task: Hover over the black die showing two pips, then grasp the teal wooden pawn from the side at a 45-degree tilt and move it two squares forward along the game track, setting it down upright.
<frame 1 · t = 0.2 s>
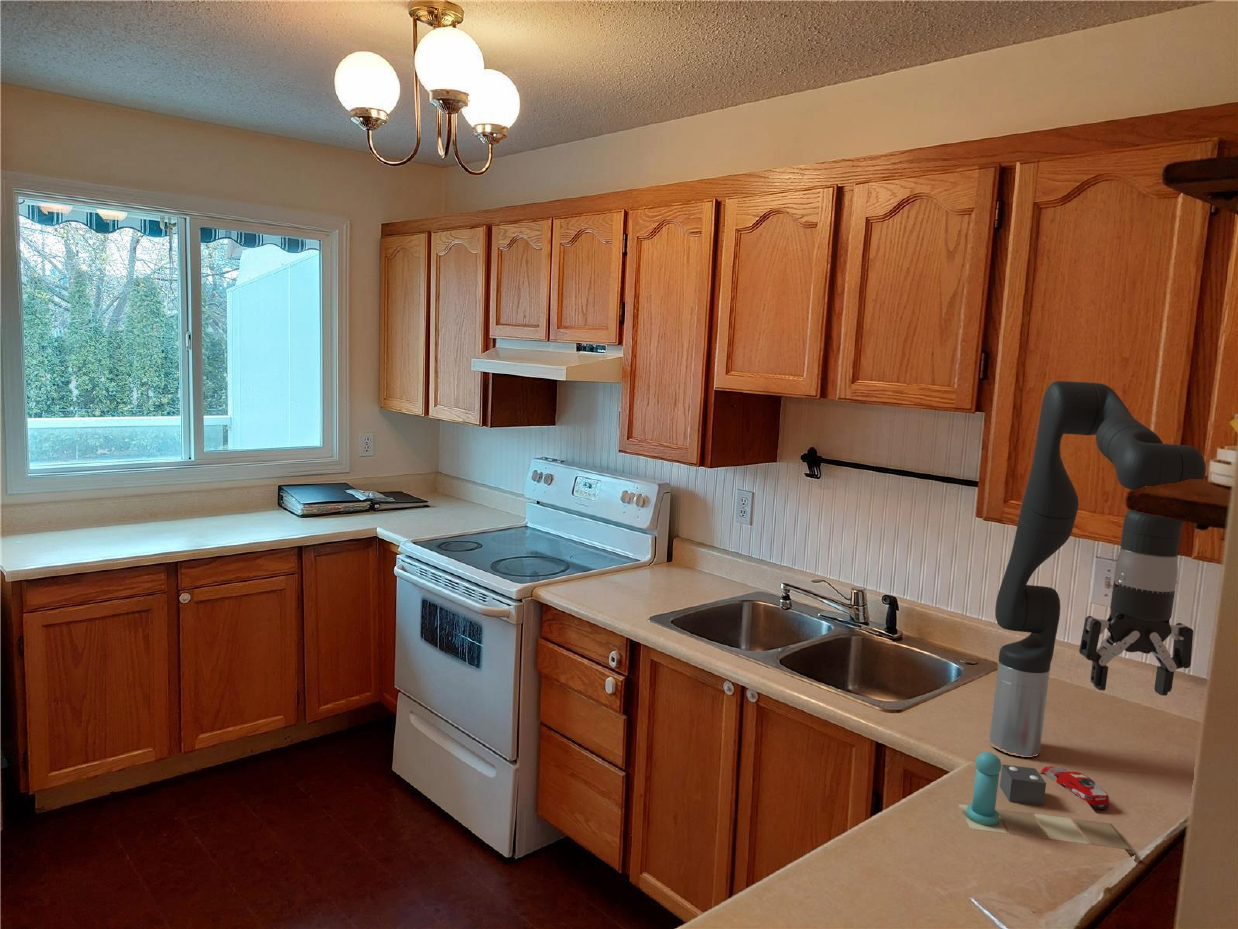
hand: (1129, 691, 123), 29 cm above the worktop, tool pointing down, fingers open, 8 cm apart
track board: (1039, 834, 137), on the worktop
die: (1020, 803, 147), on the worktop
pawn: (982, 818, 138), point 1 cm above the worktop, touching track board
race car: (1072, 795, 152), on the worktop
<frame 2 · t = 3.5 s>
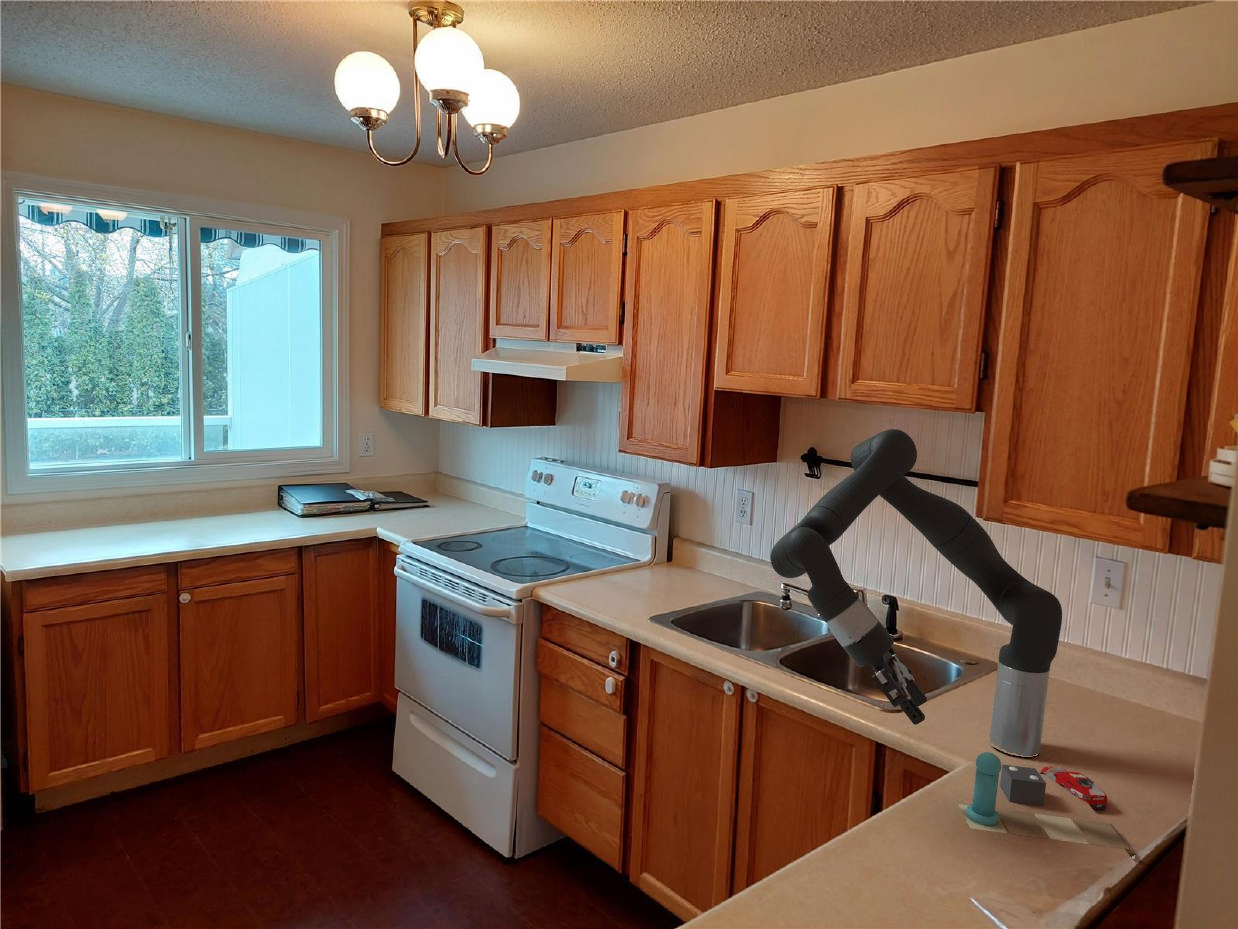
hand: (921, 712, 140), 17 cm above the worktop, tool tilted 45°, fingers open, 8 cm apart
nothing on the worktop moved.
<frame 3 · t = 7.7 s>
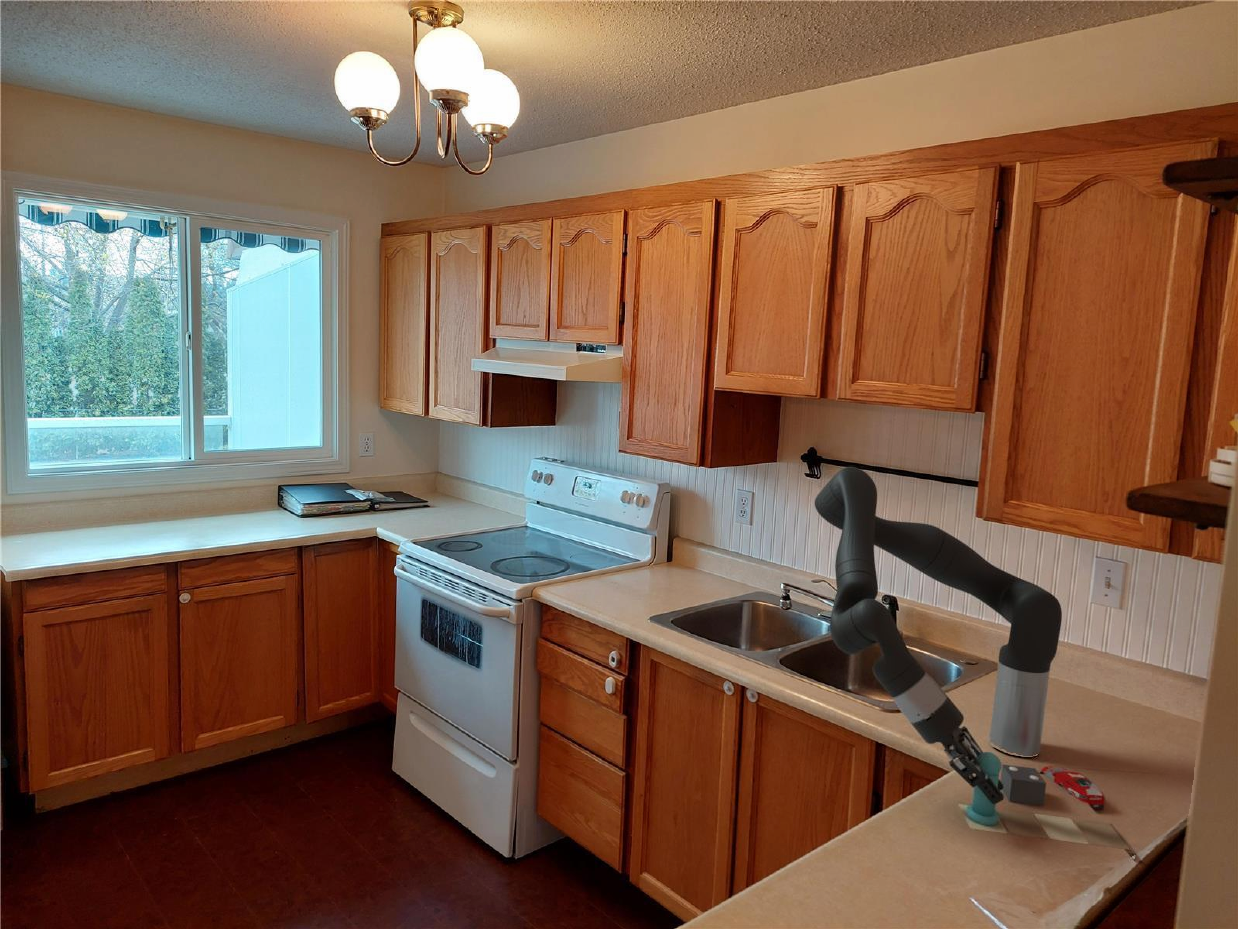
hand: (998, 795, 137), 6 cm above the worktop, tool tilted 45°, fingers closed on pawn, 3 cm apart
pawn: (982, 818, 138), point 1 cm above the worktop, touching gripper, track board
everything else where it was.
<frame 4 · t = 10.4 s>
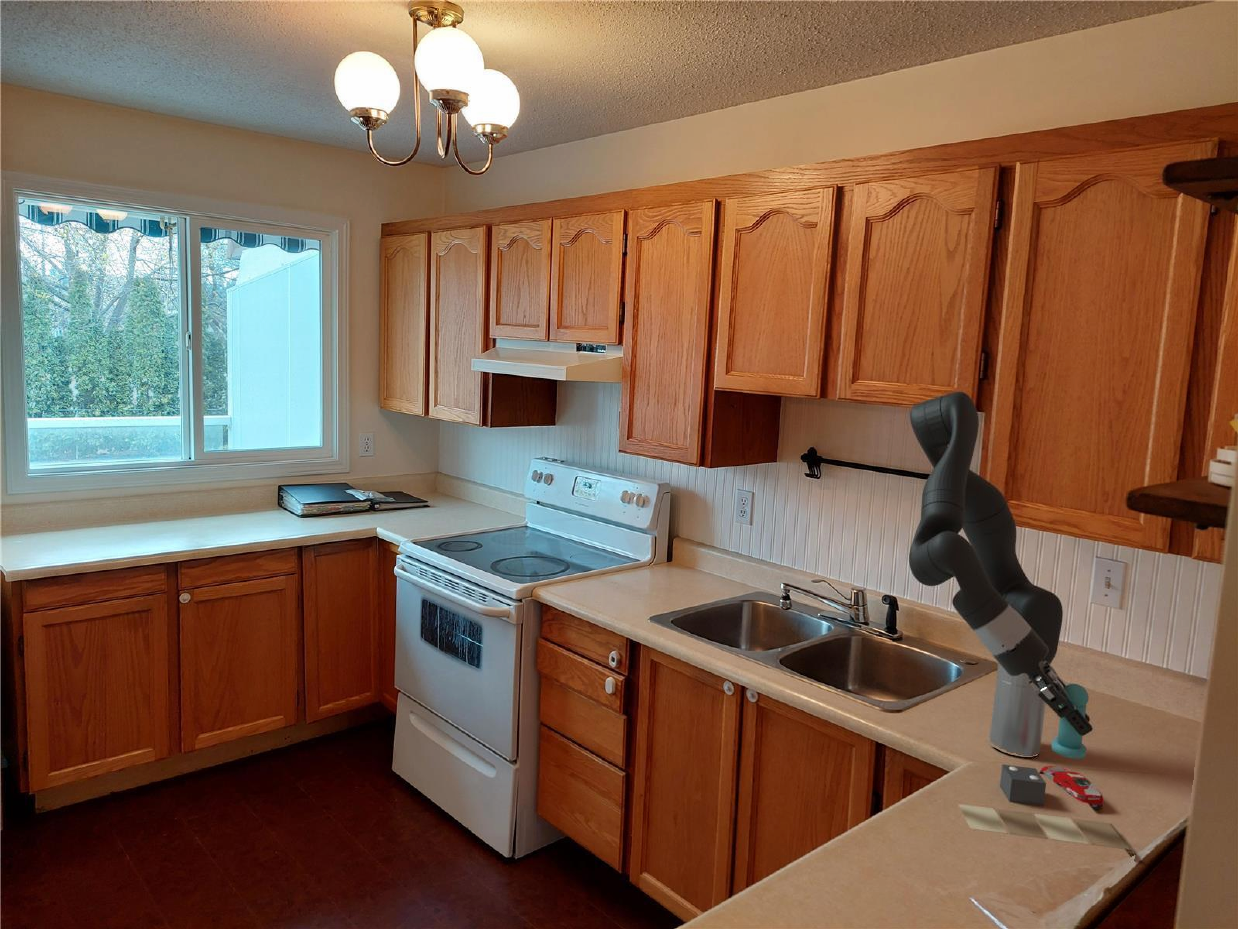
hand: (1085, 727, 134), 19 cm above the worktop, tool tilted 45°, fingers closed on pawn, 3 cm apart
pawn: (1068, 751, 135), point 14 cm above the worktop, touching gripper
everything else where it was.
when the fingers open (7 cm above the worktop, at t = 13.4 s): pawn drops 1 cm, resting on track board.
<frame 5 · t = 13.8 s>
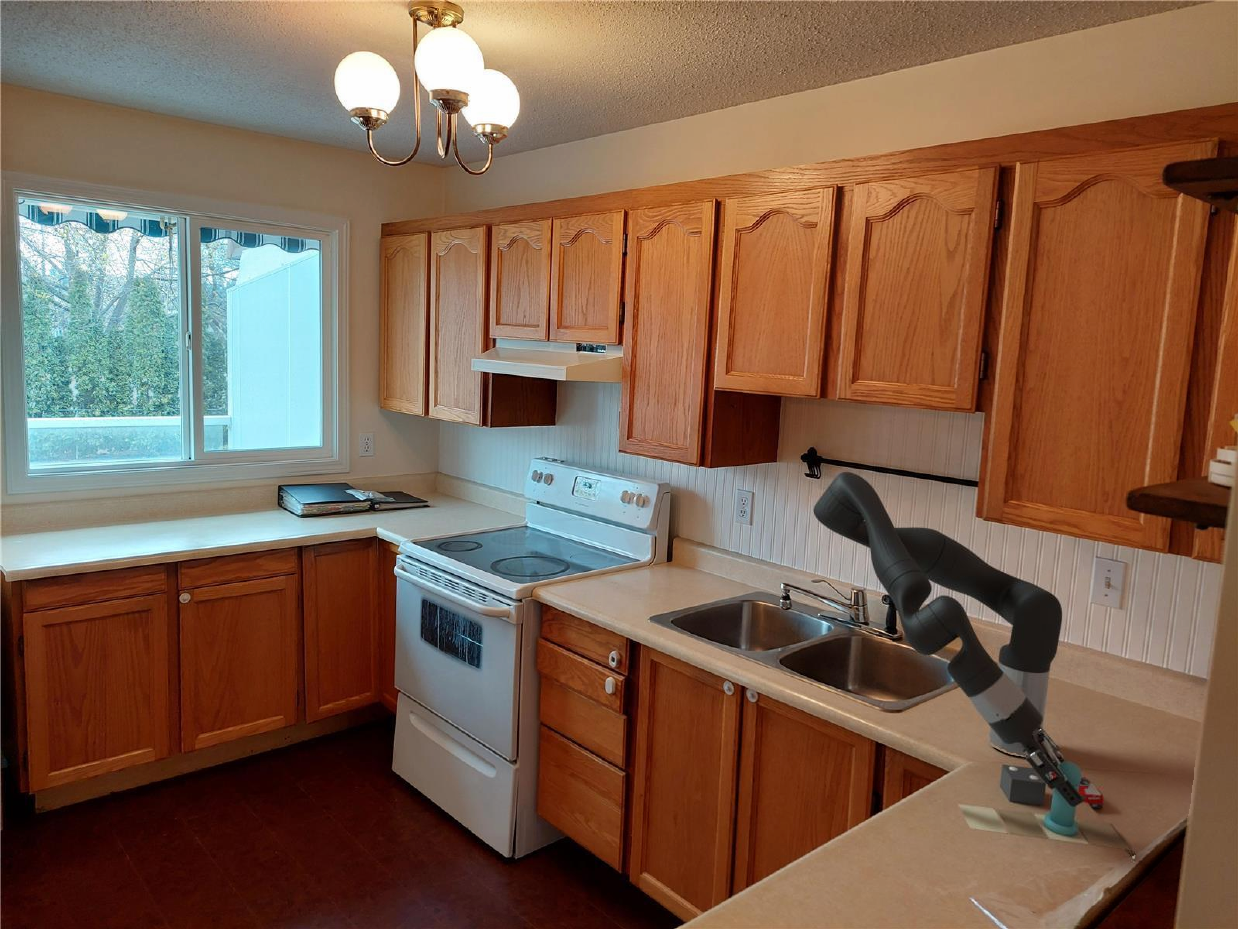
hand: (1075, 792, 135), 8 cm above the worktop, tool tilted 45°, fingers open, 7 cm apart
pawn: (1060, 828, 136), point 2 cm above the worktop, touching track board
everything else where it was.
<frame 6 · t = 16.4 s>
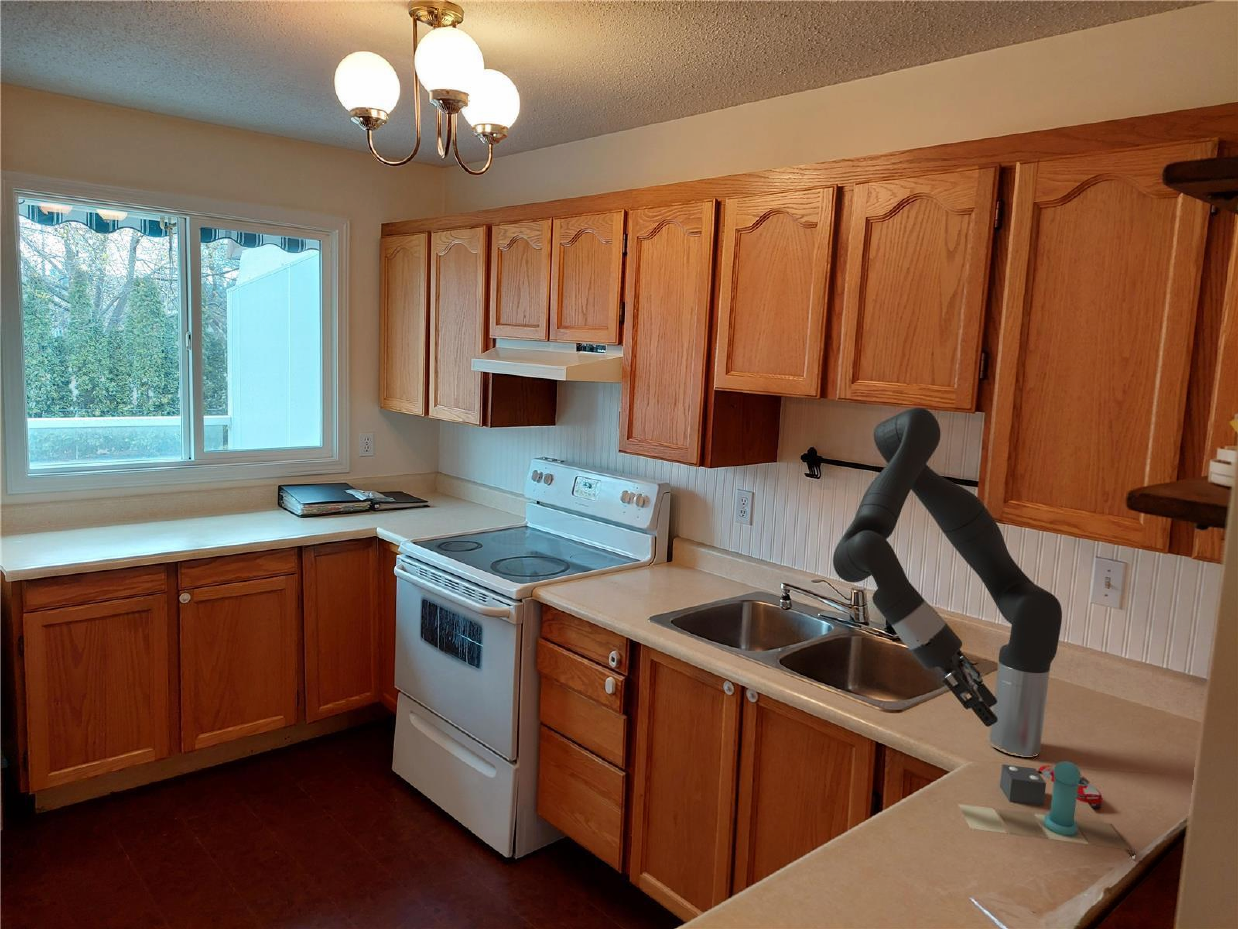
hand: (993, 714, 139), 18 cm above the worktop, tool tilted 45°, fingers open, 8 cm apart
nothing on the worktop moved.
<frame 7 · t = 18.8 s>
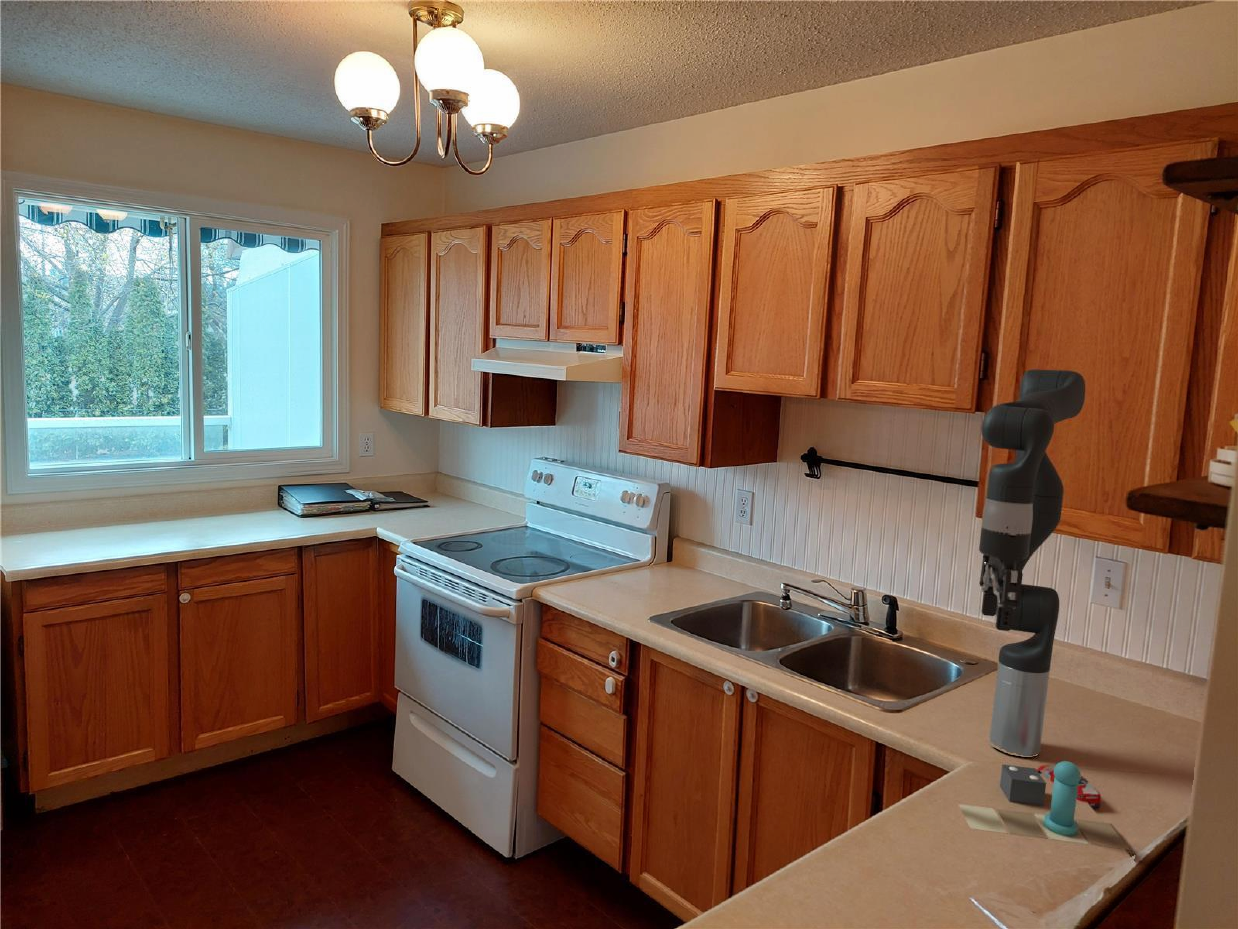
hand: (995, 622, 142), 32 cm above the worktop, tool pointing down, fingers open, 8 cm apart
nothing on the worktop moved.
at the end: pawn 0.0 cm from the target spot, point 1.5 cm above the worktop; pawn tilted 0°; the gripper is holding nothing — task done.
